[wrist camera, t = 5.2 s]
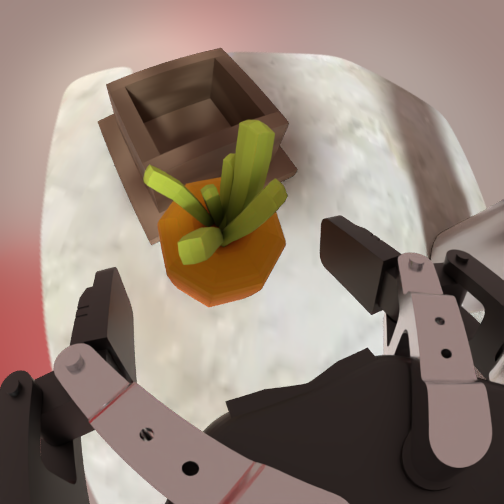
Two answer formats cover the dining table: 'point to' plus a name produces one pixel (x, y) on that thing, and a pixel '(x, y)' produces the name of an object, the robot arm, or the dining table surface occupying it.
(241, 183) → the carrot
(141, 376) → the dining table surface
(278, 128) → the socket block
